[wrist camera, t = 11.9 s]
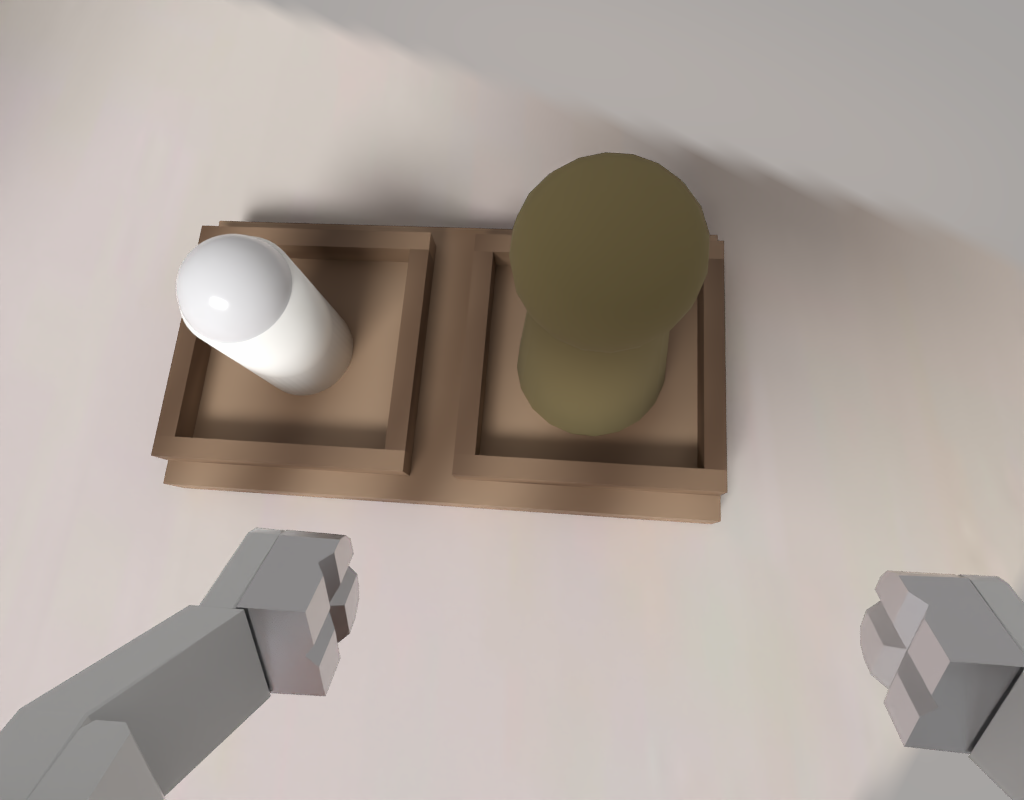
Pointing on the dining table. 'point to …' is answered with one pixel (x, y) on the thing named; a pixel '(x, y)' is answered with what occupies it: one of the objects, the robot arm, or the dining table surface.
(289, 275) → the salt cellar
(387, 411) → the cruet board
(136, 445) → the dining table surface
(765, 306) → the dining table surface
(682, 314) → the olive green stopper
